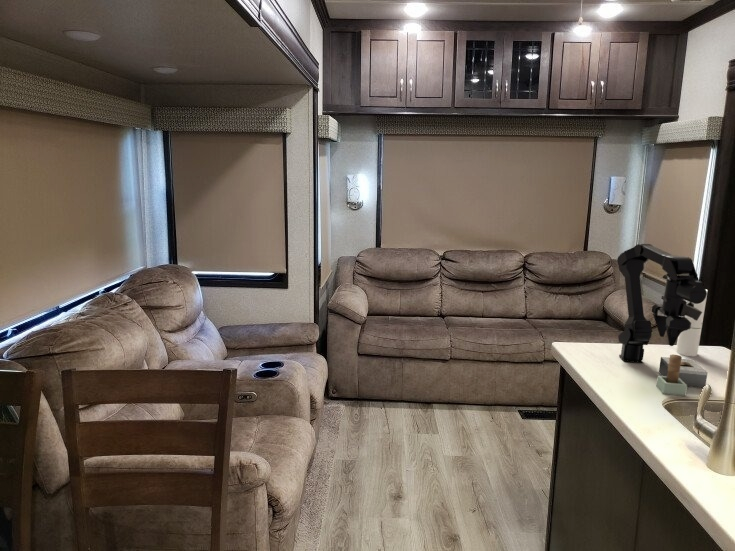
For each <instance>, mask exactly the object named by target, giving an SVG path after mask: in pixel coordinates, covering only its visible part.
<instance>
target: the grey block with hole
mask: <svg viewBox="0 0 735 551" xmlns="http://www.w3.org/2000/svg"><path fill="white" fill-rule="evenodd" d="M669 359H670V356H668V357H667V356H666V357H665V356H661V357H660V360H659V361H660V363H659V367H658V373H659V374H660V376H666V377H667V372H668V365H669ZM683 366H684V367H683ZM679 378H680V379H681V380H682V381H683V382H684V383H685V384H686V385H687V388H694V389H704V388H703V387H704V386H705V387H706V384H707V378H708V371H707V370H706V369H705V368H703V366H701V365H699V364H698V363H697V362H696V361H695V360H694V359H690V358H682V359H681V365H680V372H679Z"/></svg>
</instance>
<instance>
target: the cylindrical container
mask: <svg viewBox="0 0 735 551" xmlns="http://www.w3.org/2000/svg"><path fill="white" fill-rule="evenodd" d="M705 289H706V288H705ZM708 291H709V290H708V289H706V293H707V295H706V298H705V300H704V301H703V302H701V303H699V304H695V303H693V304H694V307H695V308H697V309H698V310H700V311H701V312H702V314H701V315H700V317H699V318H698V320H697V321H696V320H694V319H693V318H691V317H689V316H686V315H685V318H687V319H688V320H689V321H690V322H691V328H690V329H688V330H685V331H683V332H681V333H680V335H679V336H678V338H677V340H676V341H677V342H676V347H675V352H676V353H677V354H678V355H680V356H681V355H682V356H686V357H696V356H698V352H699V346H700V341H701V334H702V330H703V329H702V328H703V323H704V322H703V321H704V316H705V309H706V303H707V298H708V297H707V296H708ZM685 301H686V302H687V300H685ZM691 303H692V302H691Z"/></svg>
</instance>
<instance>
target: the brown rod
mask: <svg viewBox="0 0 735 551" xmlns="http://www.w3.org/2000/svg"><path fill="white" fill-rule="evenodd" d="M669 358H670V359H669V365H668V372H667V379H666V382H667V383H677V384H678V378H679V372H680V365H681V359H683V357H682V356H681V355H680V354H670V355H669Z"/></svg>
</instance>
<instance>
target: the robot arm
mask: <svg viewBox="0 0 735 551" xmlns="http://www.w3.org/2000/svg"><path fill="white" fill-rule="evenodd" d="M616 259H617V265H618V270H619V272H620V273H621V275H622V277H623V278H624V284H625V294H626V304H627V314H628V316H627V320H626V322H625V323H624V330H623V331H622V332H621V333H620V334H618V337H617V338H618V342H619V343H620V344H621V350H620V351H621V352H620V354H619V355H618V356H619V357H620V359H621V360H622V362H627V363H635V364H636V363H639V364H643V360H644V354H645V349H644V346H648V344H649V343H650V341H651V338H652V335H653V334H652V332H653V329H652V322H651V320H650V319H648V320H647V318H646V317H645V314H644V313H645V312H644V303H643V302H644V301H643V293H642V284H641V275H642V273H643V271H644V269H645V264H646V262H648V261H652V262H654V263H656V264H657V265H660V266H661V267H662V270H663V271H664V272H665V273H666V274H664V275H663V276H662V279H664V280H666V283H665V289H664V293H663V295H661V299H662V304H660V303H655V304H653V306H651V312H652V315H653V319H654V322H655V324H656V328H657V331H658V334H659V337H661V338H664V336H665V334H666V337H667V340H668V341H667V342H668V345H669V347H673V346H674V345H675V344H676V343H677V342H676V341H677V340H678V336H679V335H680V333H681V332H683V331H685V330H688V329H690V328H691V322H690V321H689V320H688V319H687V318H685V315H686V316H689V317H691V318H693V319H694V320H696V321H697V320H698V318H699V317H700V315H701V314H702V312H701V311H700V310H698V309H697V308H695V307H694V304H693V303H695V304H699V303H701V302H703V301H704V300H705V298H706V295H707V296H708V292H707V293H706V288H705V287H704V286H703V281H699V277H698V276H699V275H698V273H697V271H696V268H695V264H694V262H693V259H692V258H690V257H689V256H684V255H677V254H676V255H675V254H671V253H669V252H667V251H665V250H662V249H660V248H658V247H656V246H654V245H653V244H651V243H638V244H636V245H634V246H633V247H631V248H629V249H626V250H625V251H623V252H621V253H620V254H619V255H618V257H617V258H616ZM706 299H707V298H706ZM685 300H687V302H686V301H685ZM691 302H692V303H691Z"/></svg>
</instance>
